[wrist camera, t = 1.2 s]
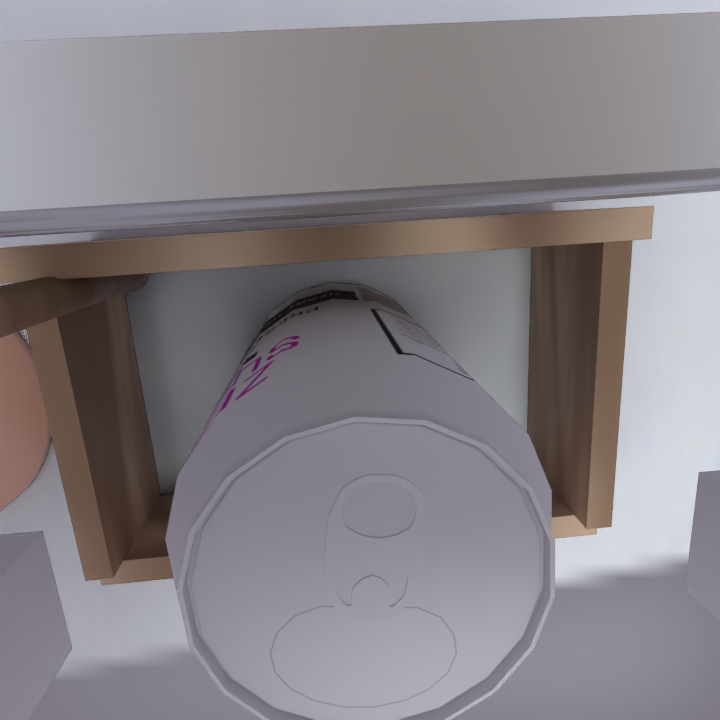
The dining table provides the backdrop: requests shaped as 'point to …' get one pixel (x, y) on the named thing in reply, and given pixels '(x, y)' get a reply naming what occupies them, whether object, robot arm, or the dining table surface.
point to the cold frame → (339, 207)
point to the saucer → (20, 419)
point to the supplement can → (359, 523)
